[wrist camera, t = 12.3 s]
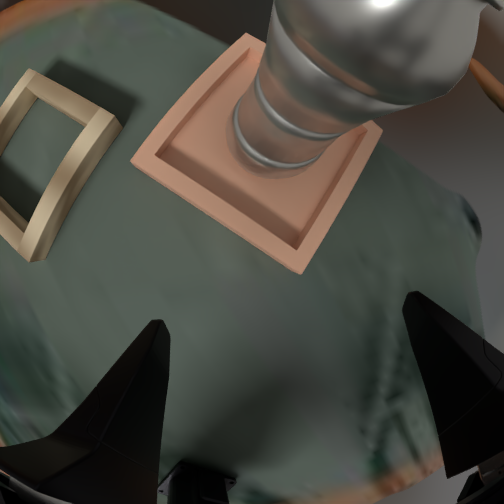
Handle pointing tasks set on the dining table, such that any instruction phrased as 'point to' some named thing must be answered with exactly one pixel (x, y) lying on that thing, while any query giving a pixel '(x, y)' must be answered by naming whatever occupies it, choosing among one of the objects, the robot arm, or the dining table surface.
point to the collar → (70, 170)
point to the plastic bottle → (345, 73)
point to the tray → (239, 180)
